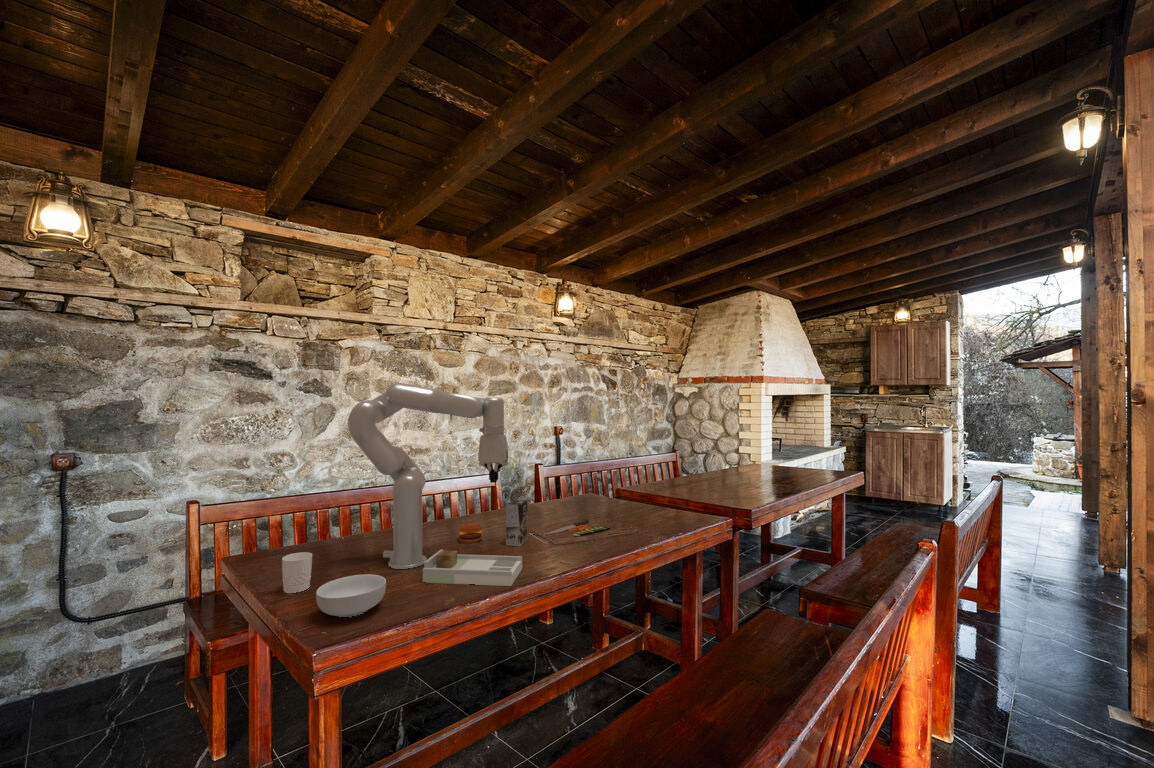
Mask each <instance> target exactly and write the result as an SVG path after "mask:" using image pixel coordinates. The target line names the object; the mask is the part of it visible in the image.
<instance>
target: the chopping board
mask: <svg viewBox="0 0 1154 768" xmlns="http://www.w3.org/2000/svg"><path fill="white" fill-rule="evenodd" d="M603 519H604V518H599V519H591V520H590V519H584V520H581V521H576V522H570V523H562V524H555V525H548V526H541V527H535V528H532V529H531V532H533V533H531V532H528V535H529V534H530V535H529V536H531V535H532V536H533V537H532V536H531V537H532V538H534V537H535V538H534V539H535V540H537V539H538V540H537V541H539V540H540V541H539V542H541V543H542V542H543V543H542V544H544V545H547V543H546V542H550V543H549V544H551V543H552V544H551V545H553V544H554V546H557V545H563V546H568V545H567V544H570V545H575V544H574V543H576V544H580V543H579V542H582V543H586V542H585V541H588V542H591V541H590V540H594V541H596V540H595V539H599V538H603V537H609V536H614V535H620V534H626V533H632V532H636V531H638V528H637V529H634V531H631V532H625V530H624V531H622V530H621V531H619V532H625V533H619V534H613V533H618V532H617V529H618V528H617V529H615V528H616V527H614V529H613V524H614V523H613V524H611V523H609V524H610V525H609V524H606V526H607V527H606V526H605V523H606V521H607V520H605V522H603ZM597 520H601V521H597ZM591 521H594V522H591ZM609 522H610V521H609ZM626 526H627V525H626ZM609 527H611V528H609ZM631 528H632V527H631ZM611 529H612V530H611ZM620 529H622V528H620ZM623 529H624V528H623ZM536 530H538V532H537V531H536ZM626 531H630V530H626ZM539 532H540V533H539ZM533 534H535V535H533ZM536 534H537V535H539V536H540V537H539V536H537V535H536ZM608 534H612V535H608ZM544 535H545V536H544ZM603 535H606V536H603ZM546 536H547V537H546ZM599 536H600V537H599ZM541 537H542V538H541ZM544 539H545V540H544ZM551 539H552V540H551ZM546 540H547V541H546Z"/></svg>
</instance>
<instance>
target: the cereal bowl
mask: <svg viewBox="0 0 1154 768" xmlns="http://www.w3.org/2000/svg"><path fill="white" fill-rule="evenodd" d="M386 589H387V580H386V578H385V577H384V576H381V575H378V574H371V573H370V574H368V573H367V574H355V575H354V574H353V575H349V576H343V577H341V578H337V579H334V580H331V581H328V582H326V583H323V584H322V585H321V586H319V587H318V588H317V589H316V593H315V597H316V598H315V599H316V605H317V607H318V608H319V610H320V611H321V612H323V613H325V614H327V615H329V616H335V617H337V616H338V617H337V618H341V617H349V618H353V617H352V616H355V617H358V616H361V615H363V614H365V613H366V612H368V610H370V609H372V608H374V607H375V606H376V605H378V604H379V603H380V602H381V601H382V599H383V598H384V596H385V593H386ZM364 612H365V613H364ZM360 614H361V615H360ZM357 615H358V616H357Z"/></svg>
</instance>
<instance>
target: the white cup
mask: <svg viewBox="0 0 1154 768" xmlns="http://www.w3.org/2000/svg"><path fill="white" fill-rule="evenodd" d="M312 565H313V553H312V552H305V551H304V552H295V553H290V554H287V555H284V556H283V557H282V558H281V573H282V574H281V575H282V584H283V585H282V590H283V591H284V592H286V593H296V592H301V591H304V590H306V589H308V588H309V587H310V588H311V579H312V578H311V577H312V567H313V566H312ZM310 588H309V589H310ZM309 589H308V590H309ZM284 592H283V593H284Z"/></svg>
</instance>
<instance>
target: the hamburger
mask: <svg viewBox="0 0 1154 768" xmlns="http://www.w3.org/2000/svg"><path fill="white" fill-rule="evenodd" d="M482 530H483V527H482V526H481V525H480V524H478V523H474V522H471V523H465V524H463V525H461V526H459V528H458V537H459V538H458V542H459V543H462V542H463V543H462V544H475V543H474V542H476V543H478V541H479V542H481V541H482V538H483V537H482V534H483V531H482ZM480 540H481V541H480Z"/></svg>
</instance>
